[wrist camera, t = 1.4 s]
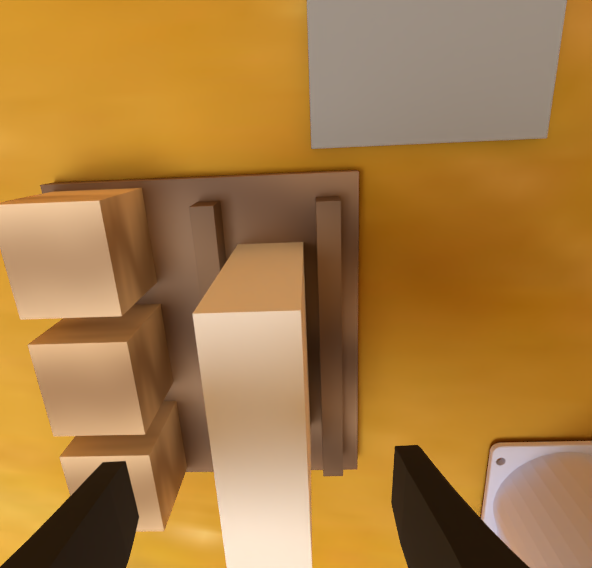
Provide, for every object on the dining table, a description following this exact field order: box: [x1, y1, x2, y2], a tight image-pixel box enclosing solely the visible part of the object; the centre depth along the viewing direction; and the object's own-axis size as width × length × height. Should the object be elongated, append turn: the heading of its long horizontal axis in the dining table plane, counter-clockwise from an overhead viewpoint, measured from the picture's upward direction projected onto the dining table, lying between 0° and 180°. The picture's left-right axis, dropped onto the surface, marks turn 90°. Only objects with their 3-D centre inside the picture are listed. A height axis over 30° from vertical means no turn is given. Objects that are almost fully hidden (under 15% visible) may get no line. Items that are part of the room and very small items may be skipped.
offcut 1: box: [0, 188, 157, 319], centre depth 17 cm, size 4×4×4 cm
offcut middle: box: [28, 304, 173, 436], centre depth 19 cm, size 4×4×4 cm
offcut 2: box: [60, 401, 187, 531], centre depth 21 cm, size 4×4×4 cm
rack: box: [40, 170, 359, 476], centre depth 21 cm, size 16×14×2 cm
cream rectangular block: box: [193, 242, 312, 568], centre depth 17 cm, size 10×3×8 cm, turn 2°
